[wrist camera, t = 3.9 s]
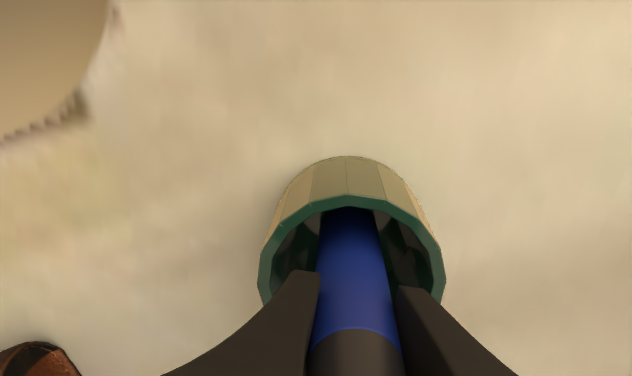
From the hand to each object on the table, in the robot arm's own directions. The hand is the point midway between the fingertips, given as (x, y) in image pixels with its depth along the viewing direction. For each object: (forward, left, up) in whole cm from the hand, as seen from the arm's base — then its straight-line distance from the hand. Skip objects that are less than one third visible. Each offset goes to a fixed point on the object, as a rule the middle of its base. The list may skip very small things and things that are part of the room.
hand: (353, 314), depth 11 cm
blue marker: (0, 0, -5) cm, 5 cm away
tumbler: (0, 0, -6) cm, 6 cm away
